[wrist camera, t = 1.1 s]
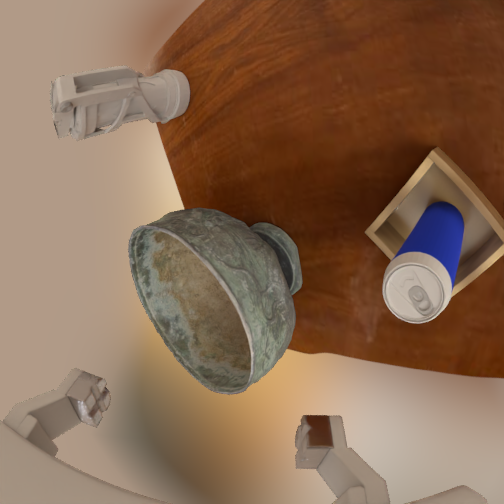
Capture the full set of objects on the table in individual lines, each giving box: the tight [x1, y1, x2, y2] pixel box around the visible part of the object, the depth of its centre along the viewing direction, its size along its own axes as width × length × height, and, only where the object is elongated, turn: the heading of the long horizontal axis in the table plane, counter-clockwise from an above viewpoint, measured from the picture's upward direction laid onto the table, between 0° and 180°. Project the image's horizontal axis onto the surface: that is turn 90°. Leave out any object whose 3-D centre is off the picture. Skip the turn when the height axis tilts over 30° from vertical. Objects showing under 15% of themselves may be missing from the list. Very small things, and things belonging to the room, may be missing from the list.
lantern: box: [50, 66, 190, 141], centre depth 38 cm, size 13×10×25 cm
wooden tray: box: [365, 147, 504, 297], centre depth 24 cm, size 12×12×5 cm
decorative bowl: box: [128, 208, 302, 394], centre depth 41 cm, size 26×26×20 cm
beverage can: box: [383, 201, 464, 323], centre depth 20 cm, size 5×5×15 cm
